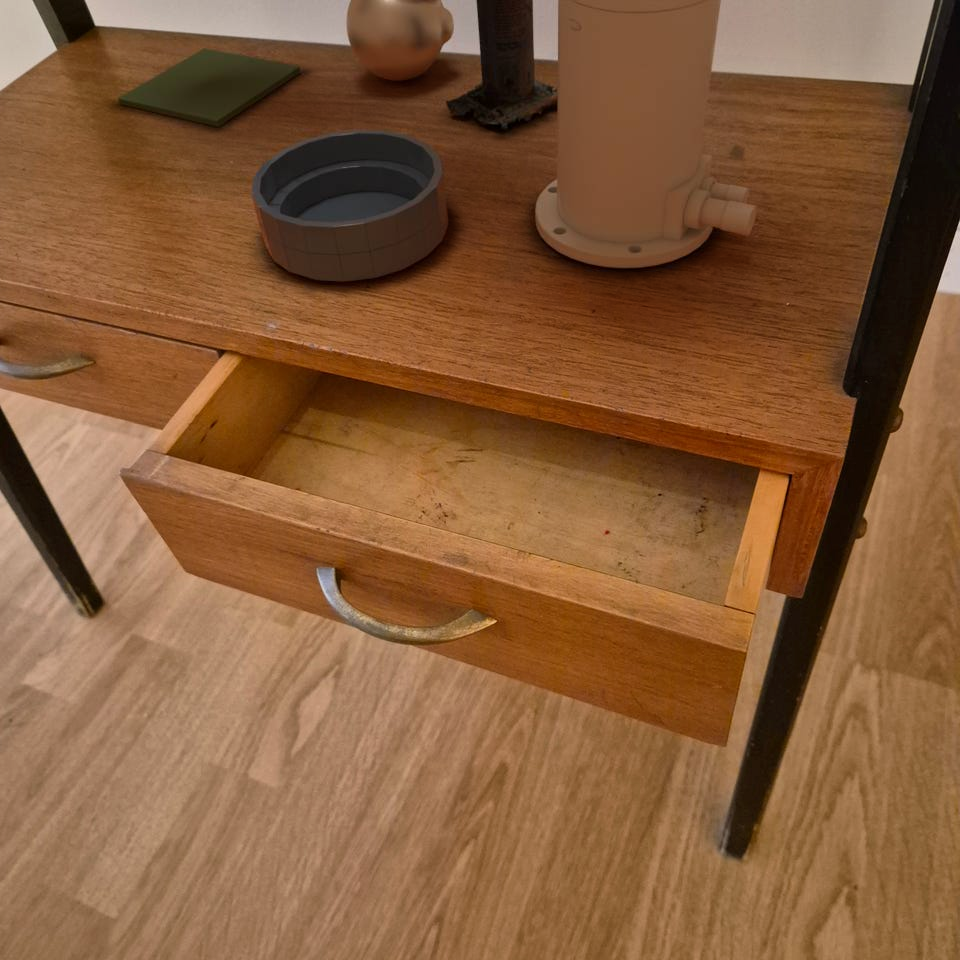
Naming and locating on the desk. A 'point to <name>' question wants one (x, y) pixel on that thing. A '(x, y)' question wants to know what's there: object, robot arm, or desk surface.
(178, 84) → the mat
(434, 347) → the desk surface
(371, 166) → the bowl
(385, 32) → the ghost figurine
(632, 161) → the robot arm
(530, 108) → the post on square base
